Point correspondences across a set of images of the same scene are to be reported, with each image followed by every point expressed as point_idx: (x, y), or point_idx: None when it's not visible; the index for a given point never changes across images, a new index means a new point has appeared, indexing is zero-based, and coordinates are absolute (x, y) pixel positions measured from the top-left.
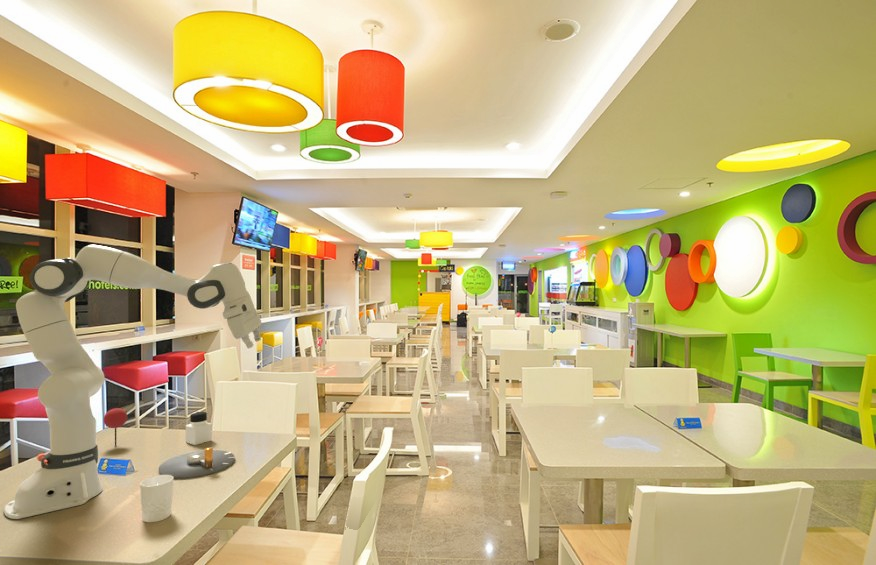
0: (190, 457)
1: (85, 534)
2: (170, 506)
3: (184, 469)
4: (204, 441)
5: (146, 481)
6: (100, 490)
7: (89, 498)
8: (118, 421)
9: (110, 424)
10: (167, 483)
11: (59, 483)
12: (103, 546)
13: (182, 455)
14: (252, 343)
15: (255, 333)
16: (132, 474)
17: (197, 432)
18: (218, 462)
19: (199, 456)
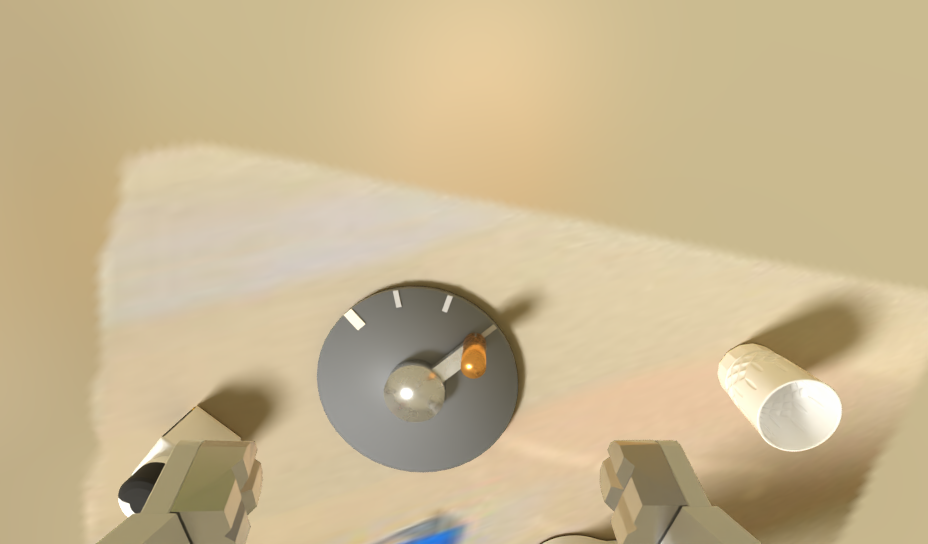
0: (430, 409)
1: (787, 475)
2: (760, 351)
3: (473, 401)
4: (215, 421)
5: (773, 441)
6: (568, 538)
7: (605, 541)
8: None
9: None
10: (825, 383)
11: None
12: (859, 421)
13: (356, 441)
14: (640, 470)
15: None
16: (460, 513)
17: None
18: (432, 326)
19: (425, 387)
